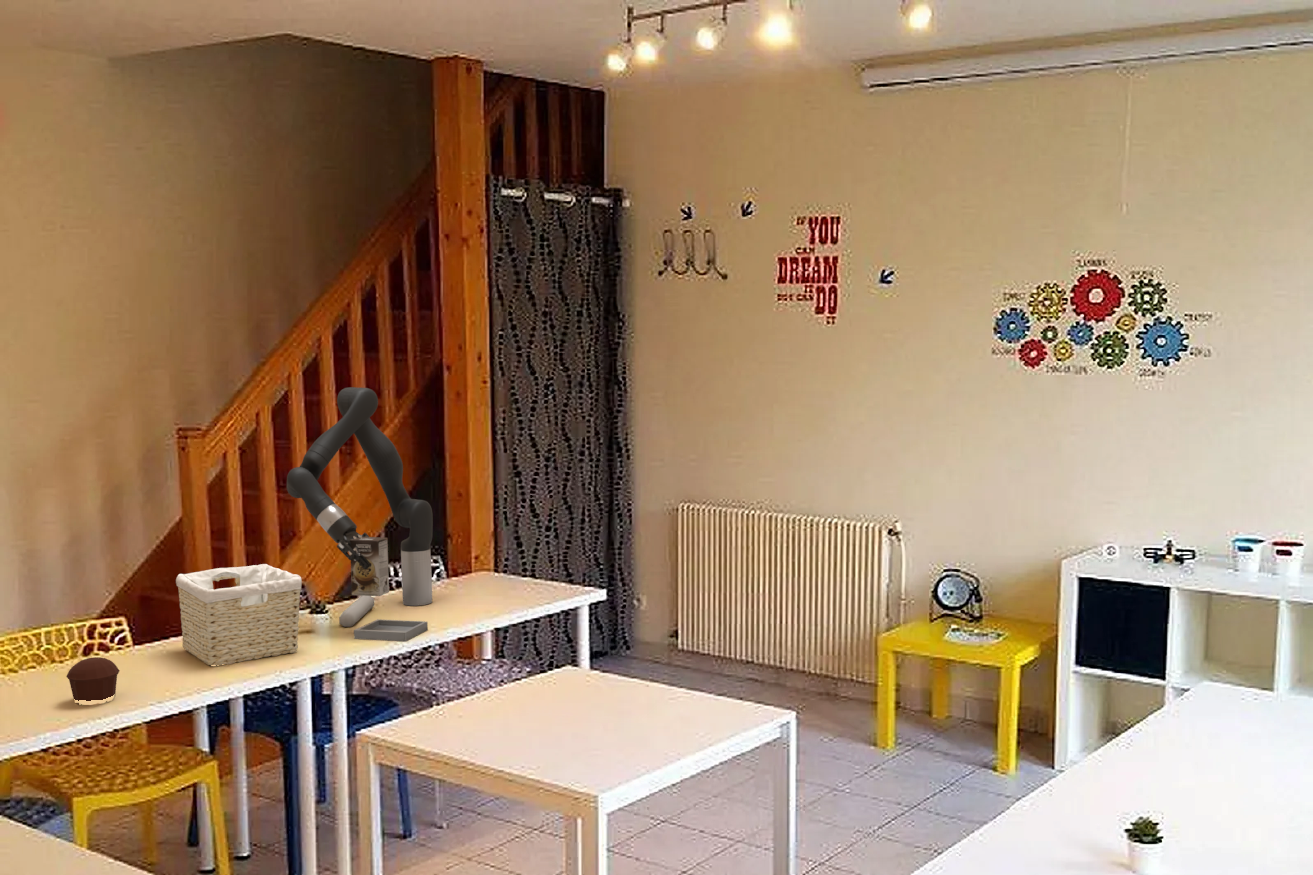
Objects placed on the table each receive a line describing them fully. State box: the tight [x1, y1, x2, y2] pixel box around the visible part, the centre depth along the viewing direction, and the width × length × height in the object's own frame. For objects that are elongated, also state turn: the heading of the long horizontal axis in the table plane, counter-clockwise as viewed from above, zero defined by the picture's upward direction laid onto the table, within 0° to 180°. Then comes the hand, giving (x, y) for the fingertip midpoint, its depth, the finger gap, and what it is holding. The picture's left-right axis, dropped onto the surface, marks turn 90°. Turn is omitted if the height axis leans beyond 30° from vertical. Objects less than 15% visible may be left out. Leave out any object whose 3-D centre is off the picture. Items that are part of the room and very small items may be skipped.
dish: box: [353, 618, 429, 642], centre depth 375 cm, size 14×16×2 cm
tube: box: [338, 595, 375, 628], centre depth 397 cm, size 5×5×25 cm
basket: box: [175, 563, 303, 666], centre depth 358 cm, size 27×27×22 cm
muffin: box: [65, 656, 121, 701], centre depth 313 cm, size 12×11×10 cm
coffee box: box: [350, 536, 390, 597], centre depth 376 cm, size 9×6×16 cm
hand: (374, 565), depth 375 cm, fingers closed on coffee box, 6 cm apart
